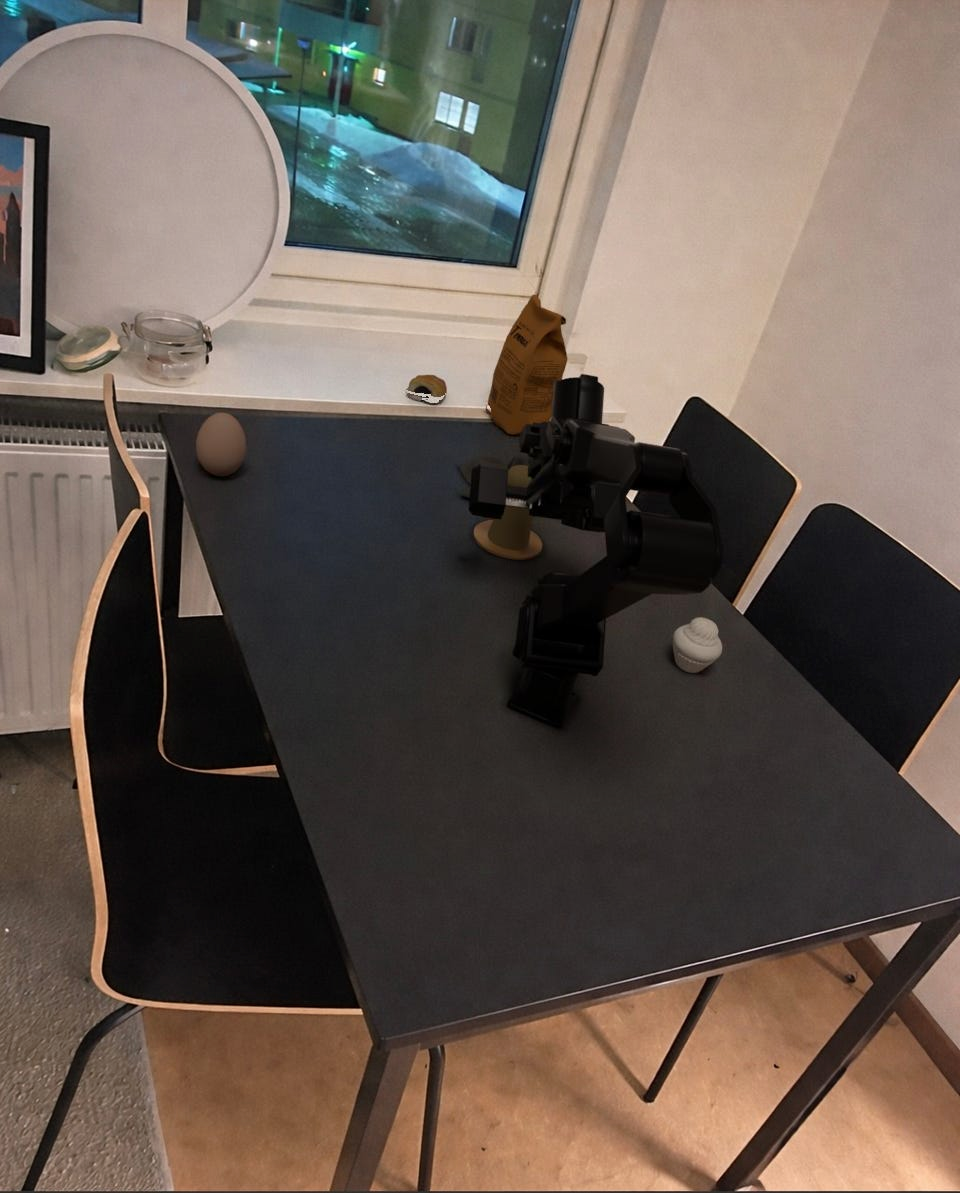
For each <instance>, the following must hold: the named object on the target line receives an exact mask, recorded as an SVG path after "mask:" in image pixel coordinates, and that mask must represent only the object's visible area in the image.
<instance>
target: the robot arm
mask: <svg viewBox="0 0 960 1193" xmlns="http://www.w3.org/2000/svg"><path fill="white" fill-rule="evenodd" d="M604 398H605V387H604V385H603V384H602V383H601V382H600V381H599V376H596V375H592V374H586V373H580V375H579V376H578V377H577V376H574V377H567V378H562V380H560V381H559V380H558V381H556V382H555V383H554V390H553V402H552V415H551V419H550V422H542V423H534V422H533V424H532V425H530V424H526V425H525V426H524V427H523V428H522V431H521V433H520V434H519V438H518V440H519V443H518V444H519V452H521V453H527V454H528V457H532V463H531V464H530V465H529V466H528V477H531V481H530V483H529V484H528V486H527V488H523V487H515V486H508V485H507V478H508V468H507V465H500V464H493V463H486V462H479V463H477V464H476V465H475V466H474V467H473V469H472V473H471V485H469V487H470V499H469V498H468V512H469V513H470V514H471V515H472V516H474V517H475V516H476V517H481V518H485V519H486V518H487V519H492V520H493V519H500V520H501V518H502V516H503V514H504V510H505V506H509V507H517V508H524V509H529V516H533V517H536V518H544V519H552V520H560V524H561V525H563V526H566V527H570V528H572V529H577V530H580V531H585V532H593V533H604V537H605V550H606V555H605V556H604V557H603V558H601V559H600V560H599V561H597V562H596V563H595V564H593V565H592V566H590V567H589V568H588V569H586V570H585V571H584V572H582V573H581V574H572V573H565V572H559V571H550V572H546V573H545V575H544V576H543V577H542V578H537V585H536V586H534V587H533V589H532V590H531V592H530V594H527V595H526V596H525V598H524V600H523V601H522V603H521V606H520V607H519V609H518V617H517V626H516V635H515V639H514V640H515V641H514V644H513V647H512V651H511V652H512V653H511V654H512V657H514V658H515V659H517V660H518V661H519V663H520V667H521V668H524V671H523V673H522V675H521V678H520V679H519V681H518V683H517V684H516V686H515V687H514V689H513V691H512V692H511V694H510V695H509V696H510V697H509V698H508V700H507V702H506V706H507V707H508V708H510V709H512V710H515V711H517V712H519V713H522V714H523V715H526V716H528V717H531V718H533V719H536V720H539V721H540V722H543V723H544V724H545V723H546V724H548V725H550V726H553V727H555V728H558V729H562V728H563V727H564V725H565V722H566V720H567V718H568V715H569V714H570V712H571V710H572V707H573V705H574V703H575V701H576V699H577V696H578V693H577V692H576V691H574V689H575V687H576V684H577V681H578V678H579V676H580V675H581V674H583V675H589V676H592V677H597V676H598V675H599V674H600V672H601V671H602V669H603V667H604V658H605V641H606V626H607V625H606V624H607V619H609V618H610V617H612V616H614V615H616V614H618V613H620V612H621V611H623V610H625V609H627V608H629V607H630V606H632V605H635V604H637V603H639V602H640V601H642V600H644V599H646V598H647V597H649V596H651V595H678V596H679V595H680V596H686V595H693V594H694V595H695V594H701V593H703V592H705V591H706V590H707V589H708V588H709V587H710V586H711V584H712V583H713V581H714V580H715V579H716V578H717V576H718V575H719V573H720V571H721V568H722V565H723V558H724V546H723V540H722V534H721V528H720V522H719V515H718V511H717V508H716V506H715V504H714V503H713V502H712V500H710V498H709V497H708V495H707V494H706V493H705V491H704V490H703V489H702V487H701V486H700V485H699V484H698V482H697V481H696V480H695V478H694V477H693V473H692V472H693V471H692V466H691V461H690V457H689V454H687V453H686V452H682V450H681V449H679V448H677V447H671V446H670V447H669V446H664V445H660V444H659V445H658V444H653V443H646V442H640V441H637V442H635V441H636V437H635V436H634V435H633V434H632V433H631V432H630V431H629V430H627V429H626V428H622V427H619V426H615V425H610V424H608V423H603V416H604V415H603V414H604V400H605V399H604ZM631 491H635V492H641V493H648V494H653V495H660V496H667V497H668V501H669V504H670V505H671V507H672V508H673V510H674V511H675V512H676V514H677V515H678V516H672V515H671V516H670V515H665V514H658V513H651V512H644V511H639V510H631V509H630V510H628V509H627V499H626V498H627V496H628V494H629V492H631ZM506 497H507V498H506ZM508 498H509V500H508ZM511 498H513V499H512V500H511ZM514 499H516V500H514ZM517 499H519V501H518V500H517ZM521 499H522V501H521ZM524 500H525V502H524ZM627 510H628V511H627Z"/></svg>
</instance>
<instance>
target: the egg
mask: <svg viewBox="0 0 960 1193" xmlns="http://www.w3.org/2000/svg"><path fill="white" fill-rule="evenodd" d="M195 441H196V443H195V451H196V456H197V459H198V461H199V463H200V464H201V466H202V467H203V468H204V470H206V471H207V472H208V473H209V474H211V475H213V476H216V477H227V476H229V475H232V474H233V473H235V472H236V471H237V470H238V469H239V468H240V467H241V466H242V464H243V462H244V461H245V459H246V454H247V440H246V435H245V432H244V429H243V427H242V426H241V424H240V422H239V421H238V420H237V419H236V417H234V416H232V415H231V414H229V413H227V412H216V413H214V414H212V415H210V416H209V417H207V419H206V420H205V421H204V422H203V423H202V425H201V426H200V428H199V430H198V433H197V437H196V440H195Z"/></svg>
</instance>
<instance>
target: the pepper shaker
mask: <svg viewBox="0 0 960 1193" xmlns="http://www.w3.org/2000/svg"><path fill="white" fill-rule="evenodd" d="M530 481H531V477H528V466H525V465H516V466H513V467H511V468H510V469H509V470H508V478H507V485H508V486H515V487H523V488H527V486H528V484H529V483H530ZM506 498H507V497H506ZM512 499H513V498H511V500H512ZM508 500H509V498H508ZM514 500H516V499H514ZM517 500H518V501H519V499H517ZM521 501H522V499H521ZM524 502H525V500H524ZM533 517H534V516H529V509H524V508H517V507H509V506H505V510H504V514H503V516H502V518H501V520H500V519H493V518H492V520H493V522H492V524H491V526H490V529H489V531H488V538H489V540H490V541H491V542H492V543H493V544H495V545H497V546H499V547H501V548H504V549H508V550H523V549H525V548H527V546H528V545H529V539H530V531H532V523H533Z"/></svg>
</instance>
